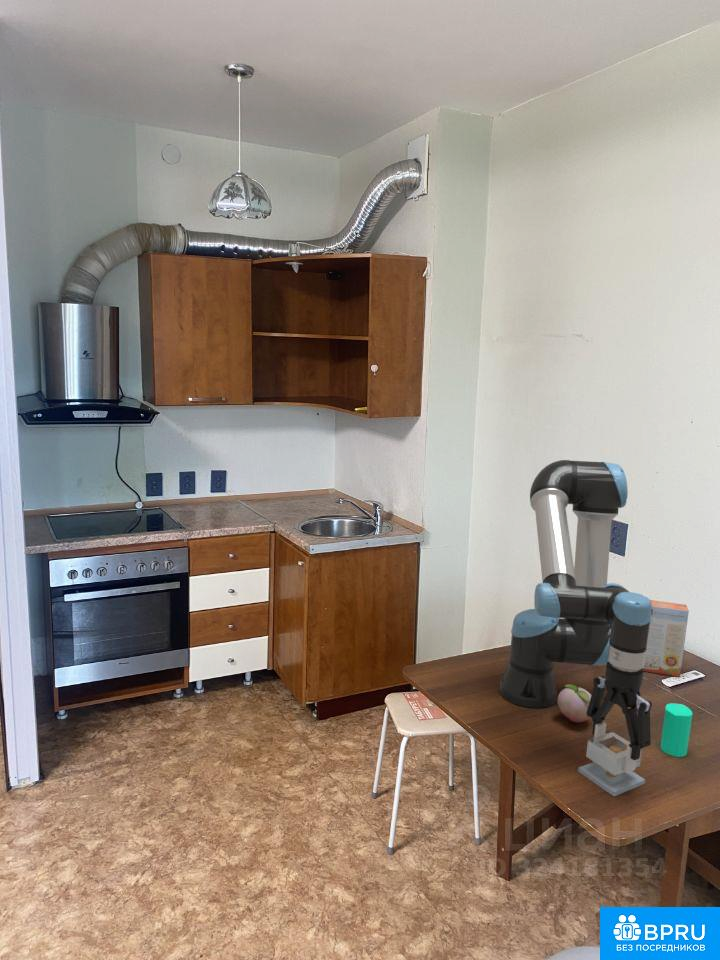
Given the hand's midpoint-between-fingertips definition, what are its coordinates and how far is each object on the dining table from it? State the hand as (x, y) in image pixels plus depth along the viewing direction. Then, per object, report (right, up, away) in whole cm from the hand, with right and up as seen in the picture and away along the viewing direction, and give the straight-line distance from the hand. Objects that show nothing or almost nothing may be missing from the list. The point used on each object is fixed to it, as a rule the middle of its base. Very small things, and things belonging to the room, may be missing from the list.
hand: (613, 760), depth 158 cm
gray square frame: (0, 0, 0) cm, 0 cm away
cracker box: (+32, +5, +56) cm, 65 cm away
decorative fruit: (-1, 0, +24) cm, 24 cm away
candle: (+19, -3, +13) cm, 23 cm away
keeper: (0, -4, +1) cm, 4 cm away
